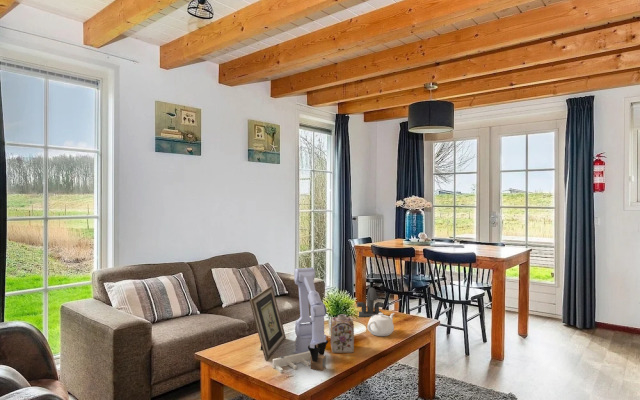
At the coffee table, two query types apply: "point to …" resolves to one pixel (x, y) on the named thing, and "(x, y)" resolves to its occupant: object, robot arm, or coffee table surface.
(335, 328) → the decorative jar
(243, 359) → the coffee table surface
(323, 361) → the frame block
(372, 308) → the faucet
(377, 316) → the teapot
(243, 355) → the coffee table surface
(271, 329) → the picture frame
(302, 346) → the robot arm
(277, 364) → the cream pronged rack
